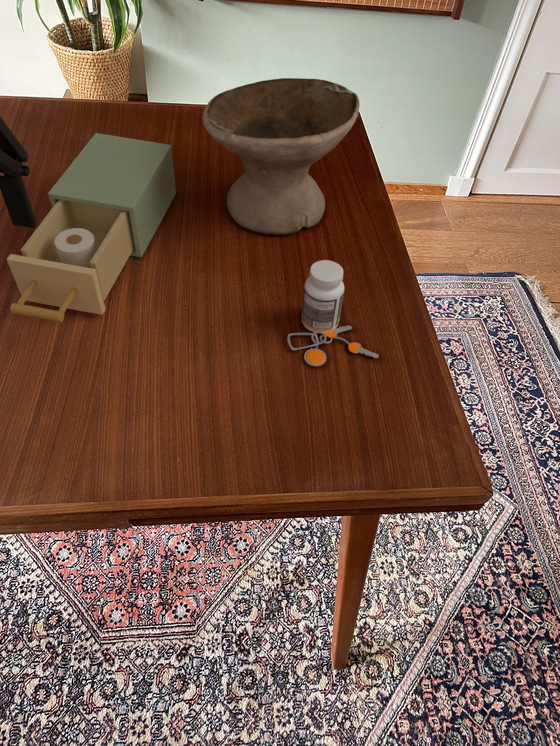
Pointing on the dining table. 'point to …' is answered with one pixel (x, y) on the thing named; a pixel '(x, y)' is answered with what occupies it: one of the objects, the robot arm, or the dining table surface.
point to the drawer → (69, 282)
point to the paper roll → (75, 247)
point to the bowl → (279, 147)
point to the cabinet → (122, 182)
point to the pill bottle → (323, 297)
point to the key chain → (318, 356)
